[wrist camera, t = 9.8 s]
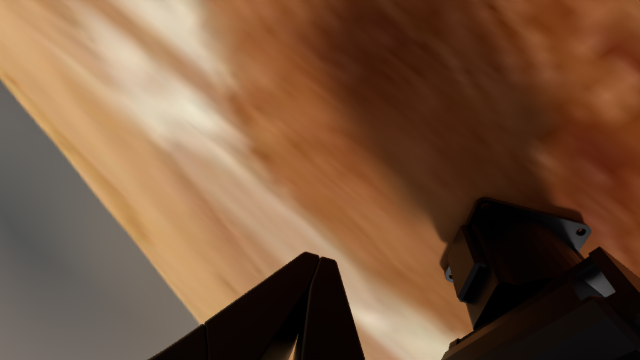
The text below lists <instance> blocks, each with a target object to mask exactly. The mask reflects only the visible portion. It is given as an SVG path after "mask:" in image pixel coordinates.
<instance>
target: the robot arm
mask: <svg viewBox="0 0 640 360" xmlns="http://www.w3.org/2000/svg"><path fill="white" fill-rule="evenodd" d="M483 204H488V206H487V207H486V208H481V206H482V205H483ZM581 228H582V230H581V231H580V232H576V231H577V230H578V229H581ZM590 233H591V229H590V227H589V226H588V225H587V224H585V223H584V222H581V221H577V220H573V219H570V218H566V217H562V216H558V215H554V214H550V213H546V212H542V211H538V210H535V209H531V208H527V207H523V206H519V205H515V204H511V203H507V202H503V201H499V200H496V199H492V198H488V197H482V198H479V199H478V200H477V201H476V203H475V205H474V207H473V209H472V211H471V214H470V216H469V218H468V220H467V222H466V224H464V225H462V226H460V228H459V230H458V232H457V235H456V237H455V239H454V241H453V244H452V246H451V248H450V250H449V252H448V255H447V258H448V264H447V266H446V268H445V271H444V274H445V278H446V280H447V281H449V282H452V283H454V287H455V291H456V295H457V297H458V299H459V301H460V302H464V303H466V305H467V309H468V313H469V316H470V320H471V324H472V327H473V330H474V331H472V332H471V333H469V334H468V335H466V336H465V337H463V338H462V339H459V338H457V339H456V340H454V341H453V342H451V343H450V346H449V350H448V351H446V352H445V354H444V356H443V358H442V359H441V360H640V278H639V277H638V276H636V275H635V274H634V273H633V272H631V271H630V270H629V269H628V268H626V267H625V266H624V265H623V264H621V263H620V262H619V261H618V260H616V259H615V258H614V257H613V256H611V255H610V254H609V253H608V252H606V251H605V250H604V249H603V248H601V247H600V246H599V247H598V248H596V249H595V250H593V251H592V252H590V253H589V257H587V258H586V259H585V258H584V257H583V256H582V255H581V254H580V253H579V250H580V249H581V247H582V246H583V244H584V243H585V241H586V240H587V238H588V237H589V235H590ZM450 274H451V275H450ZM297 337H298V338H297ZM296 340H297V342H296ZM295 343H296V346H295V351H294V356H293V360H365V357H364V354H363V350H362V347H361V344H360V340H359V337H358V333H357V330H356V326H355V323H354V320H353V316H352V313H351V309H350V306H349V303H348V299H347V296H346V292H345V289H344V286H343V282H342V279H341V275H340V272H339V269H338V265H337V262H336V261H335V260H333V259H330V258H326V257H321V258H320V257H319V255H316V254H313V253H309V252H303V253H302V254H300V255H299V256H298V257H296V258H295V259H293V260H292V261H290V262H289V263H288V264H286V265H285V266H283V267H282V268H281V269H279V270H278V271H276V272H275V273H273V274H272V275H271V276H269V277H268V278H266V279H265V280H264V281H262V282H261V283H259V284H258V285H257V286H255V287H254V288H252V289H251V290H249V291H248V292H247V293H245V294H244V295H242V296H241V297H240V298H238V299H237V300H235V301H234V302H232V303H231V304H230V305H228V306H227V307H225V308H224V309H223V310H221V311H220V312H218V313H217V314H215V315H214V316H213V317H211V318H210V319H208V320H207V321H206V322H205V323H204V324H201V325H200V326H198V327H197V328H196V329H194V330H193V331H191V332H190V333H188V334H187V335H185V336H184V337H183V338H181V339H179V340H178V341H177V342H175V343H173V344H172V345H171V346H169V347H167V348H166V349H164V350H163V351H161V352H160V353H158V354H156V355H155V356H153V357H151V358H150V359H148V360H289V357H290V355H291V353H292V350H293V348H294V345H295Z"/></svg>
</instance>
